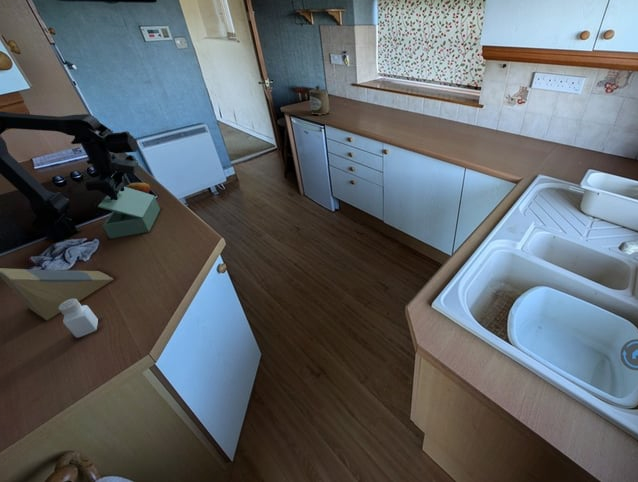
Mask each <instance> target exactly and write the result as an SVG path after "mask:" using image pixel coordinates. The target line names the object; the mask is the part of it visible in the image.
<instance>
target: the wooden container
mask: <svg viewBox="0 0 638 482" xmlns="http://www.w3.org/2000/svg"><path fill="white" fill-rule="evenodd" d="M328 91H329V90H328V89H326V88H321V86H320V85H316V86H315V89H314V88H313V89H310V90H308V93H309V102H310V103H309V104H310V111H312V112H313V113H325V112H328V111H329V110H330V99H329V92H328ZM312 112H311V113H312Z"/></svg>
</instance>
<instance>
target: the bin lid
mask: <svg viewBox="0 0 638 482" xmlns="http://www.w3.org/2000/svg"><path fill="white" fill-rule="evenodd" d="M123 186H124V191H120V190H121V188H122V187H123ZM115 190H116V193H117V196H118V200H113V199H112V198H110V197H109V196H107V195H105V197H104V198H103V199H102V201H100V202H99V204H98V206H97V207H98V208H100V209H104V210H108V211H111V212H113V211H115V212H119V213H123V214H126V215H130V216H134V217H138V218H143V216H144V214H145V212H146V211H147V209H148V207H149V205H150V204H151V202H152V200H153V198H154V197H155V195H154V194H150V193H149V194H147V193H144V192H141V191H137V190H134V189H131V188H128V187H126V186H125V182H124V183H122V182H118V183H117V185H116V186H115Z"/></svg>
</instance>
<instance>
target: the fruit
mask: <svg viewBox="0 0 638 482" xmlns="http://www.w3.org/2000/svg"><path fill="white" fill-rule="evenodd" d="M125 187H128V188H131V189H134V190H137V191H141V192H144V193H147V194H150V190H151V185H150V184H149V183H146V182H131V183H130V184H127V185H126V186H125Z"/></svg>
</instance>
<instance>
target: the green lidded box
mask: <svg viewBox="0 0 638 482" xmlns="http://www.w3.org/2000/svg"><path fill="white" fill-rule="evenodd" d="M160 211H161V208H160V206H159V203H158V201H157V199H156V197H155V196H154V198H153V200H152V202H151V204H150V205H149V207H148V209H147V211H146V212H145V214H144V216H143V218H138V217H134V216H130V215H126V214H123V213H119V212H115V211H111V213H110V214H109V215H108V217H107V218H106V220H105V221H104V222H103V224H102V227H103V230H104V231H105V233H106V234H107V236H108V238H109V239H116V238H122V237H128V236H133V235H138V234H145V233H149V232H150V231H151V229H152V227H153V225H154V223H155V221H156V219H157V217H158V215H159V213H160Z"/></svg>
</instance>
